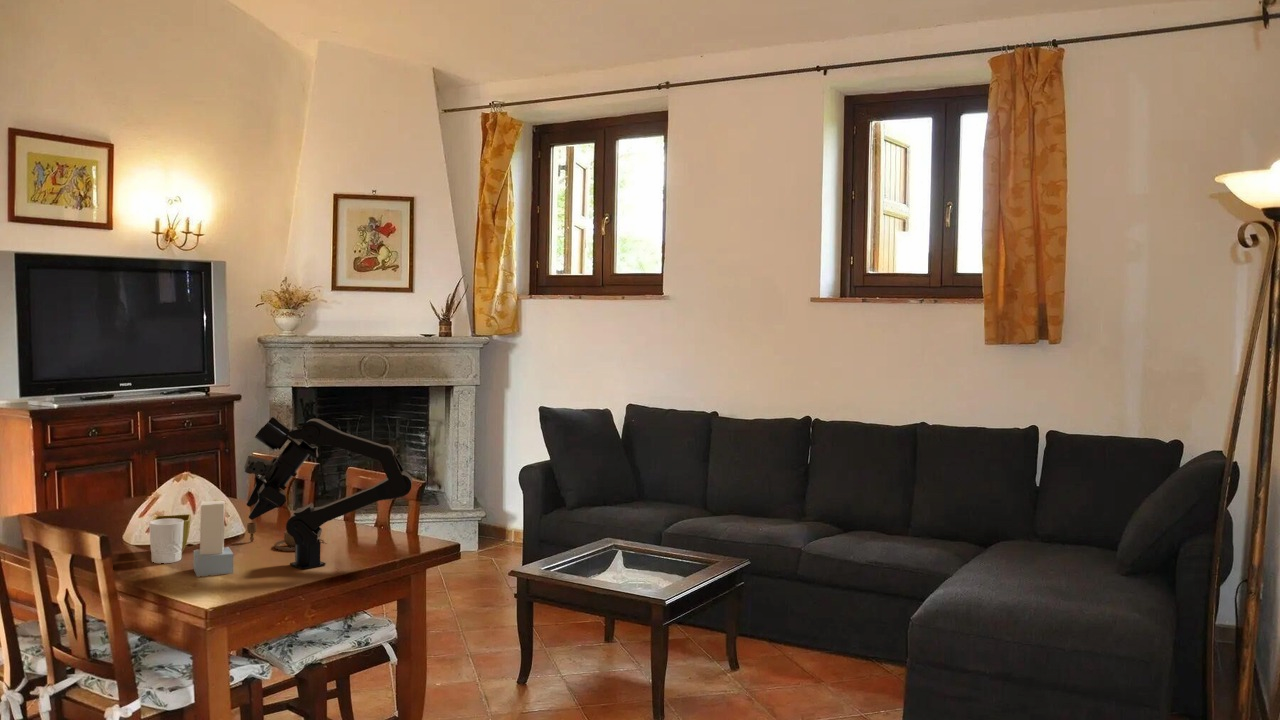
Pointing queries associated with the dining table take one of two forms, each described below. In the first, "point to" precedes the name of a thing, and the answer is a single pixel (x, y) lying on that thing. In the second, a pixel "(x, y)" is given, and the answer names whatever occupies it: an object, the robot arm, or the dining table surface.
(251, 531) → the place setting
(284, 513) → the dining table surface
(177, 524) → the white cup
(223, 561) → the base block
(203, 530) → the pillar
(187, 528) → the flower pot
